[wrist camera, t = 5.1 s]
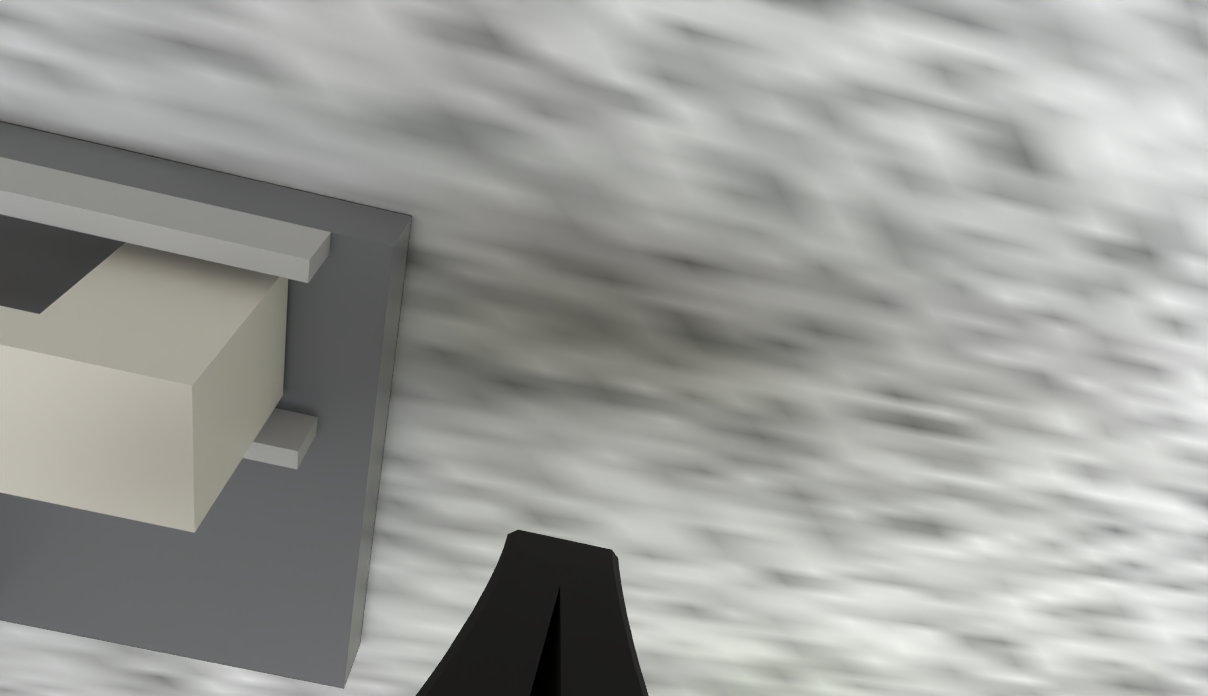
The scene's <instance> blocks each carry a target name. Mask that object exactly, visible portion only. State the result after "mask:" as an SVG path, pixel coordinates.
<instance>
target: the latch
mask: <svg viewBox="0 0 1208 696" xmlns="http://www.w3.org/2000/svg"><path fill="white" fill-rule="evenodd" d="M287 298H288V278H283V277H279V276H274V275H270V274H265V273H261V272H256V271H252V270H247V269H243V268H238V267H234V266H230V265H225V264H221V263H216V262H212V261H207V260H203V259H198V258H194V257H189V256H185V255H180V254H176V253H172V252H167V251H163V250H158V249H154V248H149V247H145V246H140V245H136V244H131V243H127V242H126V243H124V244H123V245H122V246H121V247H120V248H118V249H117V250H116V251H115V252H114V253H112V254H111V255H110V256H109V257H108V258H106V259H105V260H104V261H103V262H102V263H100V264H99V265H98V266H97V267H96V268H94V269H93V270H92V271H91V272H90V273H88V274H87V275H86V276H85V277H84V278H82V279H81V280H80V281H79V282H78V283H76V284H75V285H74V286H73V287H72V288H70V289H69V290H68V291H67V292H66V293H64V294H63V295H62V296H61V297H60V298H58V299H57V300H56V301H55V302H54V303H52V304H51V305H50V306H49V307H48V308H46V309H45V310H44V311H43V312H42V313H40V314H36V313H32V312H27V311H23V310H18V309H14V308H9V307H4V306H0V493H5V494H10V495H15V496H20V497H25V498H29V499H34V500H39V501H44V502H49V503H54V504H58V505H63V506H68V507H73V508H78V509H83V510H87V511H92V512H97V513H102V514H107V515H112V516H116V517H121V518H126V519H131V520H136V521H141V522H145V523H150V524H155V525H160V526H165V527H170V528H174V529H179V530H184V531H189V532H194V533H195V531H196V530H197V528H198V527H199V525H200V524H201V522H202V520H203V519H204V517H205V516H206V514H207V513H208V511H209V510H210V508H211V506H212V505H213V503H214V502H215V500H216V499H217V497H218V496H219V494H220V492H221V491H222V489H223V488H224V486H225V485H226V483H227V481H228V480H229V478H230V477H231V475H232V474H233V472H234V471H235V469H236V467H237V466H238V464H239V463H240V461H241V460H242V458H243V457H244V455H245V453H246V452H247V450H248V449H249V447H250V446H251V444H252V443H253V441H254V439H255V438H256V436H257V435H258V433H259V432H260V430H261V429H262V427H263V425H264V424H265V422H266V421H267V419H268V418H269V416H270V415H271V413H272V411H273V410H274V408H275V407H276V405H277V404H278V402H279V400H280V399H281V397H282V396H283V384H284V362H285V341H286V319H287Z"/></svg>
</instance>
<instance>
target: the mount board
mask: <svg viewBox="0 0 1208 696" xmlns="http://www.w3.org/2000/svg"><path fill="white" fill-rule="evenodd" d="M411 218H412V216H408V215H404V214H399V213H395V212H391V211H386V210H382V209H378V208H373V207H369V206H365V205H360V204H356V203H351V202H347V201H343V200H338V199H334V198H330V197H325V196H321V195H317V194H312V193H308V192H304V191H299V190H295V189H291V188H286V187H282V186H278V185H273V184H269V183H264V182H260V181H256V180H251V179H247V178H243V177H238V176H234V175H230V174H225V173H221V172H217V171H212V170H208V169H204V168H199V167H195V166H191V165H186V164H182V163H177V162H173V161H169V160H164V159H160V158H156V157H151V156H147V155H143V154H138V153H134V152H130V151H125V150H121V149H117V148H112V147H108V146H104V145H99V144H95V143H91V142H86V141H82V140H77V139H73V138H69V137H64V136H60V135H56V134H51V133H47V132H43V131H38V130H34V129H30V128H25V127H21V126H17V125H12V124H8V123H4V122H0V306H4V307H9V308H14V309H18V310H23V311H27V312H32V313H36V314H40V313H42V312H43V311H44V310H45V309H46V308H48V307H49V306H50V305H51V304H52V303H54V302H55V301H56V300H57V299H58V298H60V297H61V296H62V295H63V294H64V293H66V292H67V291H68V290H69V289H70V288H72V287H73V286H74V285H75V284H76V283H78V282H79V281H80V280H81V279H82V278H84V277H85V276H86V275H87V274H88V273H90V272H91V271H92V270H93V269H94V268H96V267H97V266H98V265H99V264H100V263H102V262H103V261H104V260H105V259H106V258H108V257H109V256H110V255H111V254H112V253H114V252H115V251H116V250H117V249H118V248H120V247H121V246H122V245H123V244H124V243H126V242H127V243H131V244H136V245H140V246H145V247H149V248H154V249H158V250H163V251H167V252H172V253H176V254H180V255H185V256H189V257H194V258H198V259H203V260H207V261H212V262H216V263H221V264H225V265H230V266H234V267H238V268H243V269H247V270H252V271H256V272H261V273H265V274H270V275H274V276H279V277H283V278H288V298H287V319H286V341H285V362H284V384H283V396H282V397H281V399H280V400H279V402H278V404H277V405H276V407H275V408H274V410H273V411H272V413H271V415H270V416H269V418H268V419H267V421H266V422H265V424H264V425H263V427H262V429H261V430H260V432H259V433H258V435H257V436H256V438H255V439H254V441H253V443H252V444H251V446H250V447H249V449H248V450H247V452H246V453H245V455H244V457H243V458H242V460H241V461H240V463H239V464H238V466H237V467H236V469H235V471H234V472H233V474H232V475H231V477H230V478H229V480H228V481H227V483H226V485H225V486H224V488H223V489H222V491H221V492H220V494H219V496H218V497H217V499H216V500H215V502H214V503H213V505H212V506H211V508H210V510H209V511H208V513H207V514H206V516H205V517H204V519H203V520H202V522H201V524H200V525H199V527H198V528H197V530H196V531H195V533H194V532H189V531H184V530H179V529H174V528H170V527H165V526H160V525H155V524H150V523H145V522H141V521H136V520H131V519H126V518H121V517H116V516H112V515H107V514H102V513H97V512H92V511H87V510H83V509H78V508H73V507H68V506H63V505H58V504H54V503H49V502H44V501H39V500H34V499H29V498H25V497H20V496H15V495H10V494H5V493H0V620H2V621H7V622H12V623H17V624H22V625H27V626H32V627H37V628H42V629H47V630H52V631H57V632H62V633H67V634H72V635H77V636H82V637H87V638H92V639H97V640H102V641H107V642H112V643H117V644H122V645H127V646H132V647H137V648H142V649H147V650H152V651H157V652H163V653H168V654H173V655H178V656H183V657H188V658H193V659H198V660H203V661H208V662H213V663H218V664H223V665H228V666H233V667H238V668H243V669H248V670H253V671H258V672H263V673H268V674H273V675H278V676H283V677H288V678H293V679H298V680H303V681H308V682H313V683H318V684H323V685H328V686H333V687H338V688H343V689H344V687H345V685H346V682H347V679H348V676H349V674H350V671H351V668H352V665H353V663H354V660H355V657H356V654H357V652H358V649H359V646H360V640H361V632H362V623H363V615H364V607H365V598H366V590H367V582H368V574H369V565H370V557H371V549H372V541H373V532H374V524H375V516H376V508H377V499H378V491H379V483H380V475H381V466H382V458H383V450H384V442H385V433H386V425H387V417H388V408H389V400H390V392H391V384H392V375H393V367H394V359H395V351H396V342H397V334H398V326H399V318H400V309H401V301H402V293H403V285H404V276H405V268H406V260H407V252H408V243H409V235H410V227H411Z"/></svg>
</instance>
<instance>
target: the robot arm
mask: <svg viewBox="0 0 1208 696" xmlns="http://www.w3.org/2000/svg"><path fill="white" fill-rule="evenodd" d="M416 696H648V692H647V689H646V685H645V682H644V679H643V675H642V672H641V669H640V665H639V662H638V658H637V654H636V650H635V647H634V643H633V639H632V634H631V630H630V626H629V621H628V617H627V612H626V607H625V603H624V597H623V592H622V586H621V579H620V572H619V563H618V557H617V556H616V555H615V553H614V552H613V551H612V550H611V549H606V548H601V547H597V546H592V545H587V544H583V543H578V542H573V541H569V540H564V539H559V538H555V537H550V536H545V535H541V534H536V533H531V532H527V531H522V530H516V531H514V532H512V533H510V534H508V535H507V539H506V542H505V545H504V549H503V551H502V554H501V556H500V559H499V561H498V563H497V566H496V568H495V570H494V572H493V574H492V576H491V578H490V580H489V582H488V584H487V586H486V588H485V590H484V592H483V593H482V595H481V597H480V599H479V601H478V602H477V604H476V606H475V608H474V610H473V611H472V613H471V614H470V616H469V618H468V619H467V621H466V622H465V624H464V626H463V627H462V629H461V630H460V632H459V634H458V635H457V637H456V638H455V640H454V642H453V643H452V645H451V646H450V648H449V650H448V651H447V653H446V654H445V656H444V657H443V659H442V660H441V662H440V663H439V664H438V666H437V667H436V669H435V670H434V671H433V673H432V674H431V676H430V677H429V678H428V680H427V681H426V682H425V684H424V685H423V687H422V688H421V689H420V691H419V692H418V693H417V695H416Z"/></svg>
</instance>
